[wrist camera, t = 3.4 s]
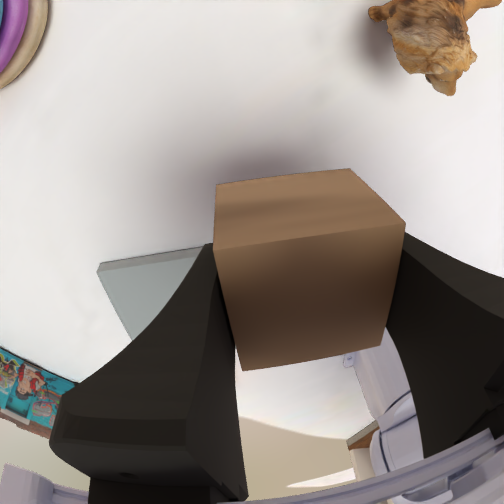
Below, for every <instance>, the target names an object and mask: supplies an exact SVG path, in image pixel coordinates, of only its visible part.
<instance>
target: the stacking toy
mask: <svg viewBox="0 0 504 504" xmlns="http://www.w3.org/2000/svg"><path fill="white" fill-rule="evenodd" d="M47 12H48V2H47V0H0V89H1V88H3V87H5V86H6V85H8V84H9V83H10V82H12V81H13V80H14V79H15V78H16V77H17V76H18V75H19V74H20V73H21V72H22V71H23V70H24V68H25V67H26V66H27V64H28V63H29V62H30V60H31V58H32V57H33V55H34V54H35V52H36V50H37V48H38V46H39V43H40V41H41V38H42V36H43V33H44V29H45V26H46V21H47Z"/></svg>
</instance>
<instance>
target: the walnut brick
mask: <svg viewBox="0 0 504 504" xmlns="http://www.w3.org/2000/svg"><path fill="white" fill-rule="evenodd" d="M405 226H406V222H405V221H404V220H403V219H402V218H401V217H400V216H399V215H398V214H397V213H396V212H395V211H394V210H393V209H392V208H391V207H390V206H389V205H388V204H387V203H386V202H385V201H384V200H383V199H382V198H381V197H380V196H379V195H378V194H377V193H376V192H374V191H373V190H372V189H371V188H370V187H369V186H368V185H367V184H366V183H365V182H364V181H363V180H362V179H361V178H360V177H358V176H357V175H356V174H355V173H354V172H353V171H352V170H351V169H350V168H349V169H338V170H327V171H317V172H308V173H299V174H290V175H282V176H274V177H266V178H259V179H251V180H244V181H237V182H231V183H224V184H218V185H216V197H215V216H214V237H213V253H214V257H215V262H216V266H217V270H218V275H219V279H220V283H221V288H222V292H223V296H224V300H225V304H226V309H227V313H228V317H229V321H230V325H231V329H232V333H233V337H234V341H235V345H236V349H237V353H238V357H239V361H240V364H241V368H242V371H248V370H256V369H263V368H270V367H277V366H283V365H289V364H295V363H301V362H307V361H312V360H317V359H322V358H327V357H332V356H337V355H342V354H347V353H351V352H356V351H360V350H364V349H368V348H373V347H377V346H380V345H381V341H382V338H383V334H384V330H385V326H386V322H387V318H388V314H389V310H390V306H391V302H392V297H393V293H394V288H395V283H396V278H397V273H398V268H399V263H400V257H401V251H402V245H403V239H404V233H405Z"/></svg>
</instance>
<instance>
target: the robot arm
mask: <svg viewBox="0 0 504 504" xmlns="http://www.w3.org/2000/svg"><path fill="white" fill-rule="evenodd" d="M349 357H351V358H349ZM348 358H349V359H348ZM343 365H344V367H351V366H354V368H355V371H356V374H357V377H358V380H359V382H360V385H361V388H362V391H363V394H364V397H365V400H366V403H367V406H368V408H369V411H370V413H371V415H372V416H373V418H374V419H375V420H376V421H378V424H379V427H380V429H379V430H377V431H375V432H374V434H373V437H372V441H371V443H370V459H371V463H372V467H373V470H374V473H375V476H376V477H373V478H369V479H366V480H362V481H359V482H355V483H352V484H348V485H344V486H340V487H335V488H331V489H326V490H322V491H317V492H312V493H306V494H300V495H295V496H288V497H282V498H273V499H264V500H255V501H245V500H246V499H247V498H248V496H249V495H248V489H247V482H246V475H245V470H244V469H245V468H244V462H243V453H242V446H241V437H240V429H239V420H238V410H237V400H236V389H235V341H234V337H233V333H232V329H231V325H230V321H229V317H228V313H227V309H226V304H225V300H224V296H223V292H222V288H221V283H220V279H219V275H218V270H217V266H216V262H215V257H214V253H213V243H209V244H205V245H204V246H203V247H202V249H201V251H200V252H199V254H198V256H197V258H196V260H195V261H194V263H193V265H192V266H191V268H190V270H189V271H188V273H187V274H186V276H185V277H184V279H183V281H182V282H181V284H180V285H179V287H178V288H177V290H176V291H175V292H174V294H173V295H172V296H171V298H170V299H169V301H168V302H167V303H166V305H165V306H164V307H163V309H162V310H161V311H160V312H159V314H158V315H157V316H156V317H155V318H154V319H153V320H152V322H151V323H150V324H149V325H148V326H147V327H146V328H145V329H144V330H143V331H142V332H141V333H140V334H139V335H138V336H137V337H136V338H135V339H134V340H133V341H132V342H131V343H130V344H129V345H128V346H127V347H126V348H124V349H123V350H122V351H121V352H120V353H119V354H118V355H116V356H115V357H114V358H113V359H112V360H110V361H109V362H108V363H107V364H105V365H104V366H103V367H102V368H100V369H99V370H98V371H96V372H95V373H94V374H92V375H91V376H89V377H88V378H86V379H85V380H83V381H82V382H81V383H79V384H78V385H76V386H75V387H73V388H72V389H70V390H69V391H67V392H65V393H64V394H62V396H61V399H60V402H59V406H58V409H57V413H56V416H55V420H54V424H53V427H52V431H51V435H50V440H49V446H50V448H51V449H52V451H53V452H54V453H55V454H56V455H57V456H58V457H59V458H61V459H62V460H63V461H65V462H66V463H68V464H69V465H71V466H73V467H74V468H76V469H77V470H79V471H81V472H82V473H84V474H86V475H87V476H89V477H91V478H90V486H89V492H88V491H83V490H79V489H74V488H70V487H66V486H62V485H58V484H54V483H53V482H52V481H50V480H49V479H47V478H45V477H43V476H41V475H39V474H37V473H35V472H33V471H30V470H27V469H24V468H21V467H18V466H15V465H12V464H10V463H5V465H4V469H3V474H2V479H1V484H0V504H376V503H379V502H382V501H385V500H388V499H391V500H392V501H393V503H394V504H504V278H502V277H499V276H496V275H493V274H490V273H488V272H485V271H483V270H480V269H478V268H475V267H473V266H471V265H468V264H466V263H464V262H461V261H459V260H457V259H455V258H453V257H451V256H449V255H447V254H445V253H443V252H441V251H439V250H437V249H435V248H433V247H432V246H430V245H428V244H426V243H424V242H422V241H420V240H419V239H417V238H415V237H413V236H411V235H410V234H408V233H406V232H405V233H404V239H403V245H402V251H401V257H400V263H399V268H398V273H397V278H396V283H395V288H394V293H393V297H392V302H391V306H390V310H389V314H388V318H387V322H386V326H385V330H384V334H383V338H382V341H381V345H380V346H377V347H373V348H368V349H364V350H360V351H356V352H351V353H347V354H345V356H344V362H343Z"/></svg>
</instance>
